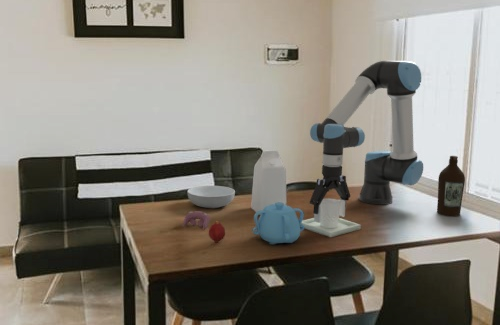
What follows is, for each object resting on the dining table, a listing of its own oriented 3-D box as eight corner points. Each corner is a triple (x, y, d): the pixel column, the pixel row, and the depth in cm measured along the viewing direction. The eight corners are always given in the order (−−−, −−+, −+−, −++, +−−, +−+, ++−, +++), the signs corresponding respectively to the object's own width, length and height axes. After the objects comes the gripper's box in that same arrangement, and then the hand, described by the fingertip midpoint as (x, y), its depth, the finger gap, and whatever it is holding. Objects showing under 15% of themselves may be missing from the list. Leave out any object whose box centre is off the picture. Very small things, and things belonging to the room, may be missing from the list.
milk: (276, 205, 240) (278, 147, 235) (286, 212, 229) (288, 152, 224) (250, 207, 236) (252, 148, 231) (259, 214, 226) (261, 153, 221)
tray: (328, 218, 222) (328, 214, 222) (360, 229, 209) (360, 224, 209) (298, 225, 212) (298, 221, 211) (330, 237, 199) (330, 232, 198)
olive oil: (432, 209, 239) (437, 153, 235) (457, 210, 239) (462, 154, 234) (439, 216, 229) (444, 158, 224) (465, 217, 228) (470, 159, 224)
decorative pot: (309, 238, 197) (310, 202, 195) (286, 250, 184) (287, 212, 182) (271, 230, 207) (272, 195, 204) (247, 240, 194) (248, 203, 191)
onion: (208, 240, 193) (208, 218, 192) (224, 239, 194) (225, 218, 192) (208, 245, 188) (208, 223, 186) (225, 245, 188) (225, 223, 187)
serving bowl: (242, 203, 243) (243, 188, 242) (220, 215, 225) (221, 198, 223) (202, 197, 252) (202, 183, 250) (178, 208, 233) (177, 192, 232)
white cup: (338, 229, 206) (340, 204, 204) (318, 228, 207) (319, 202, 206) (339, 223, 214) (341, 199, 212) (319, 222, 215) (320, 197, 213)
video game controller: (209, 231, 208) (212, 213, 210) (205, 229, 204) (208, 211, 205) (185, 228, 211) (188, 210, 213) (181, 226, 207) (184, 208, 208)
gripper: (316, 170, 195) (313, 226, 199) (361, 163, 211) (358, 215, 215) (301, 166, 201) (299, 221, 205) (346, 160, 216) (343, 211, 220)
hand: (329, 218), depth 210 cm, fingers open, 13 cm apart
